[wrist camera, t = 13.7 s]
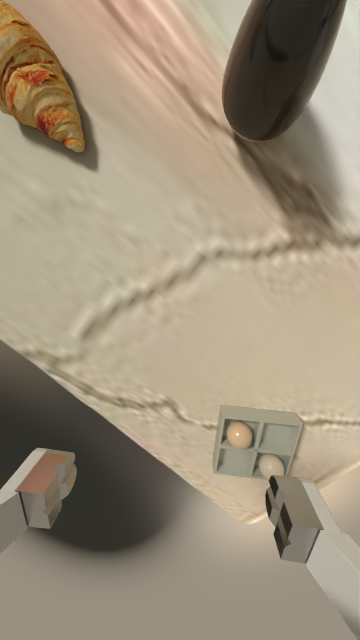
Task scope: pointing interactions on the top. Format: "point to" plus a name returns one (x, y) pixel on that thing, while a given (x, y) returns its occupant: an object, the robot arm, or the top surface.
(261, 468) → the pale egg
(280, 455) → the carton
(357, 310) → the top surface
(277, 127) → the pump dispenser
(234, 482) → the top surface
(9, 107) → the croissant
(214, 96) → the top surface
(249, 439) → the brown egg
